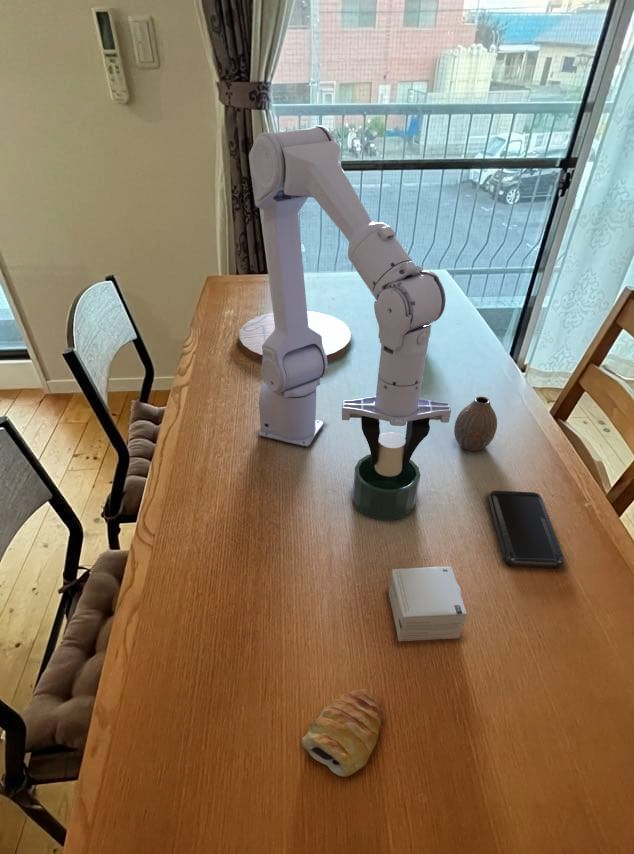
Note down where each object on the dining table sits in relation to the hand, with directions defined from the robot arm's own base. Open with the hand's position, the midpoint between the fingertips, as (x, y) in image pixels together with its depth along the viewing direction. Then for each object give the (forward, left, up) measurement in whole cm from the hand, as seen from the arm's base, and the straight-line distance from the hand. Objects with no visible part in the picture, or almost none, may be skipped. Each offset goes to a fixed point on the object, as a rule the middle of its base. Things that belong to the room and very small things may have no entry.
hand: (388, 460), depth 81 cm
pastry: (+7, -39, -8) cm, 40 cm away
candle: (0, 0, -1) cm, 1 cm away
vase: (+10, +20, -8) cm, 24 cm away
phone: (+21, +1, -8) cm, 22 cm away
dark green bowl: (0, 0, -8) cm, 8 cm away
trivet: (-34, +45, -8) cm, 57 cm away
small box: (+11, -20, -8) cm, 24 cm away
